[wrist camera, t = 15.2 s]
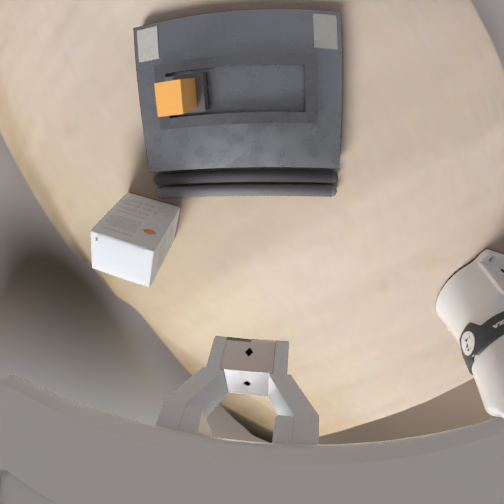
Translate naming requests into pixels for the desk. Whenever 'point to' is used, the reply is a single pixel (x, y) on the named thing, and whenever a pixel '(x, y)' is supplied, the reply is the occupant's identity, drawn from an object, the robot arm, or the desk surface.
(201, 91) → the lever
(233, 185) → the twin grey rods
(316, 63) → the breaker panel
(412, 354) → the desk surface
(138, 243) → the small box
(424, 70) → the desk surface
